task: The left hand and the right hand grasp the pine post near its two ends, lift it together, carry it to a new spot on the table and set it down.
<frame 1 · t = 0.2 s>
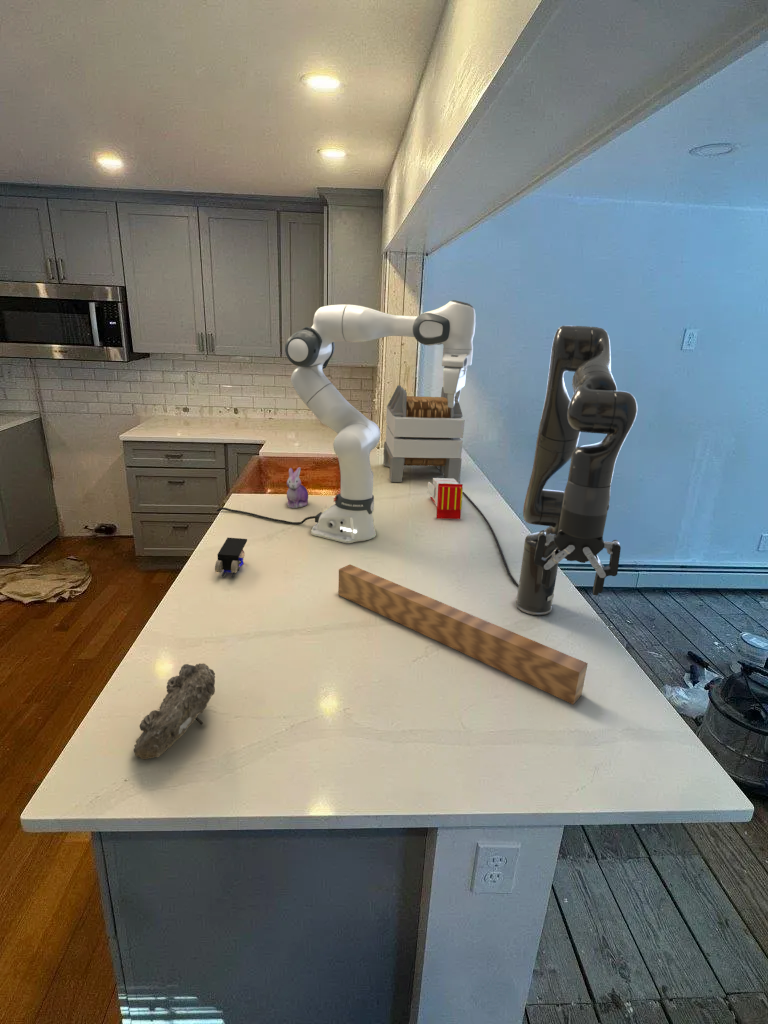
left hand: (453, 405, 174), 48 cm above the counter, tool pointing down, fingers open, 8 cm apart
right hand: (570, 589, 104), 28 cm above the counter, tool pointing down, fingers open, 8 cm apart
transformer: (419, 473, 275), on the counter
figurine character: (232, 569, 168), on the counter
post: (443, 638, 138), on the counter
figurine: (297, 505, 224), on the counter
toy: (443, 507, 229), on the counter
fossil: (183, 722, 106), on the counter
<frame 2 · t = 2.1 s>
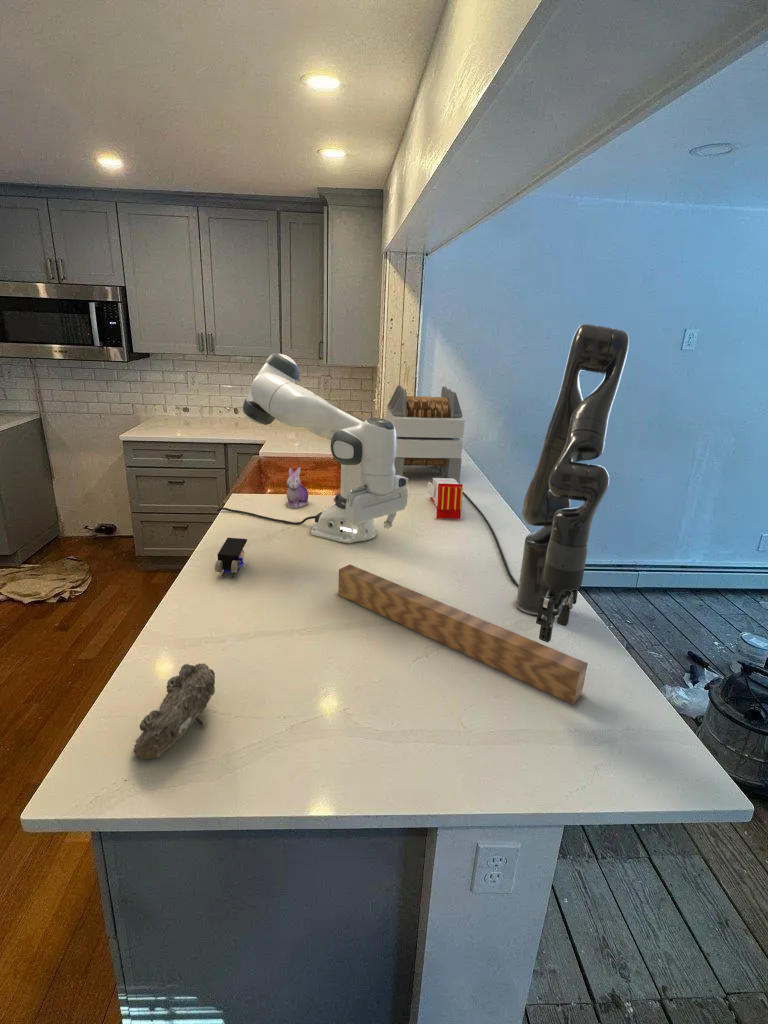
left hand: (375, 531, 151), 18 cm above the counter, tool pointing down, fingers open, 8 cm apart
right hand: (553, 632, 118), 13 cm above the counter, tool pointing down, fingers open, 8 cm apart
nothing on the counter moved.
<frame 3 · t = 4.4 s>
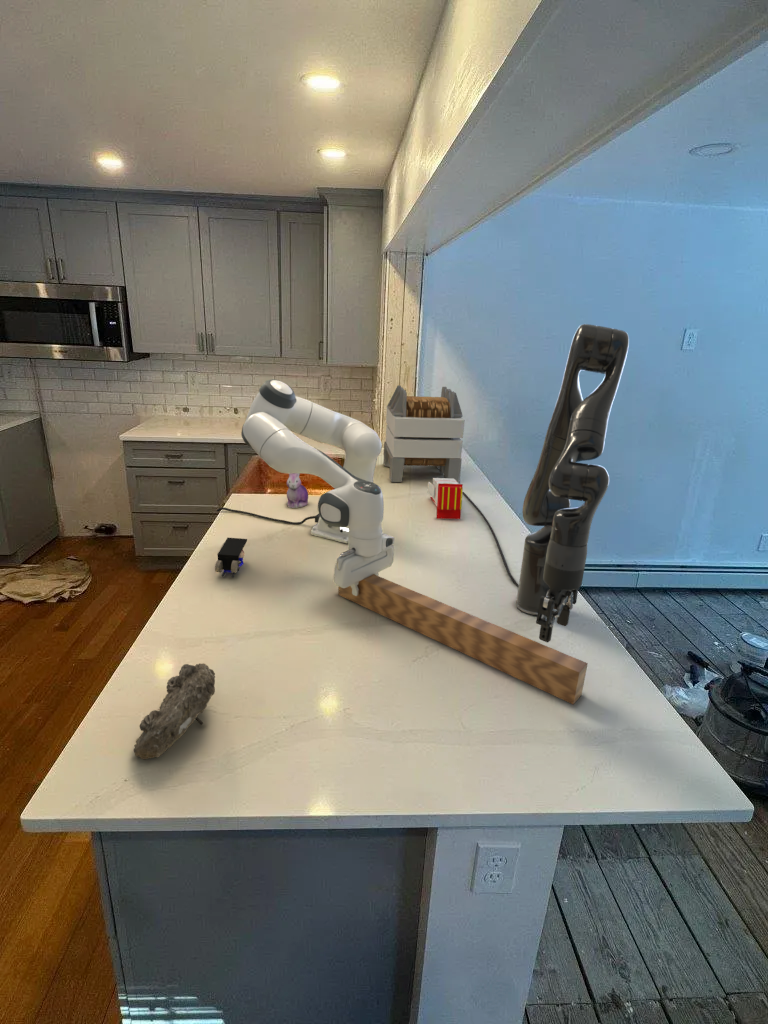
left hand: (363, 590, 152), 3 cm above the counter, tool pointing down, fingers closed on post, 4 cm apart
right hand: (553, 632, 118), 13 cm above the counter, tool pointing down, fingers open, 8 cm apart
post: (443, 638, 138), on the counter, touching left hand
everything else where it was.
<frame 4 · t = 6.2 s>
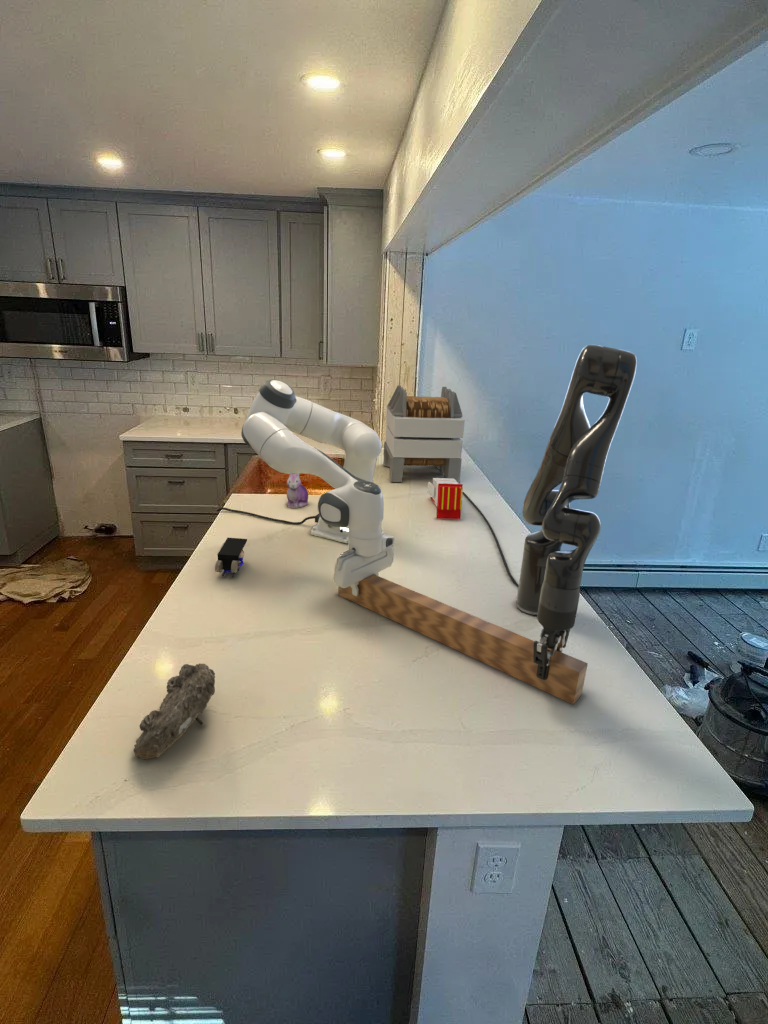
left hand: (363, 590, 152), 3 cm above the counter, tool pointing down, fingers closed on post, 4 cm apart
right hand: (546, 672, 121), 3 cm above the counter, tool pointing down, fingers closed on post, 4 cm apart
post: (443, 638, 138), on the counter, touching left hand, right hand
everything else where it was.
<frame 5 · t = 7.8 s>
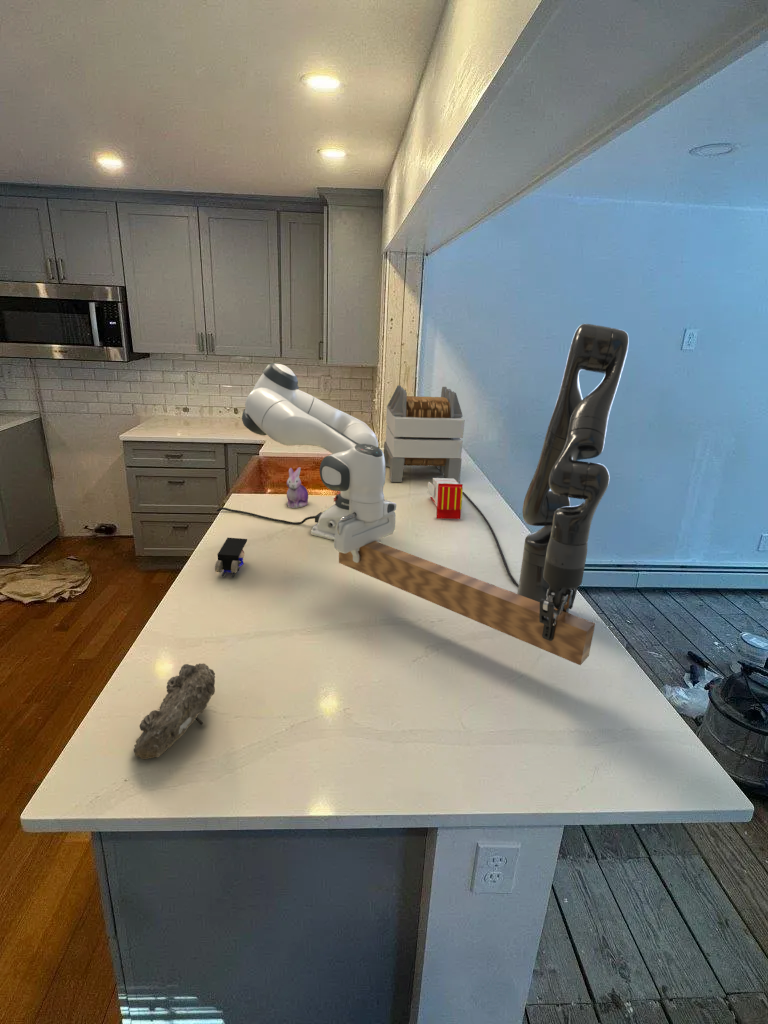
left hand: (364, 558, 149), 13 cm above the counter, tool pointing down, fingers closed on post, 4 cm apart
right hand: (553, 633, 118), 13 cm above the counter, tool pointing down, fingers closed on post, 4 cm apart
post: (446, 603, 134), point 10 cm above the counter, touching left hand, right hand
everything else where it was.
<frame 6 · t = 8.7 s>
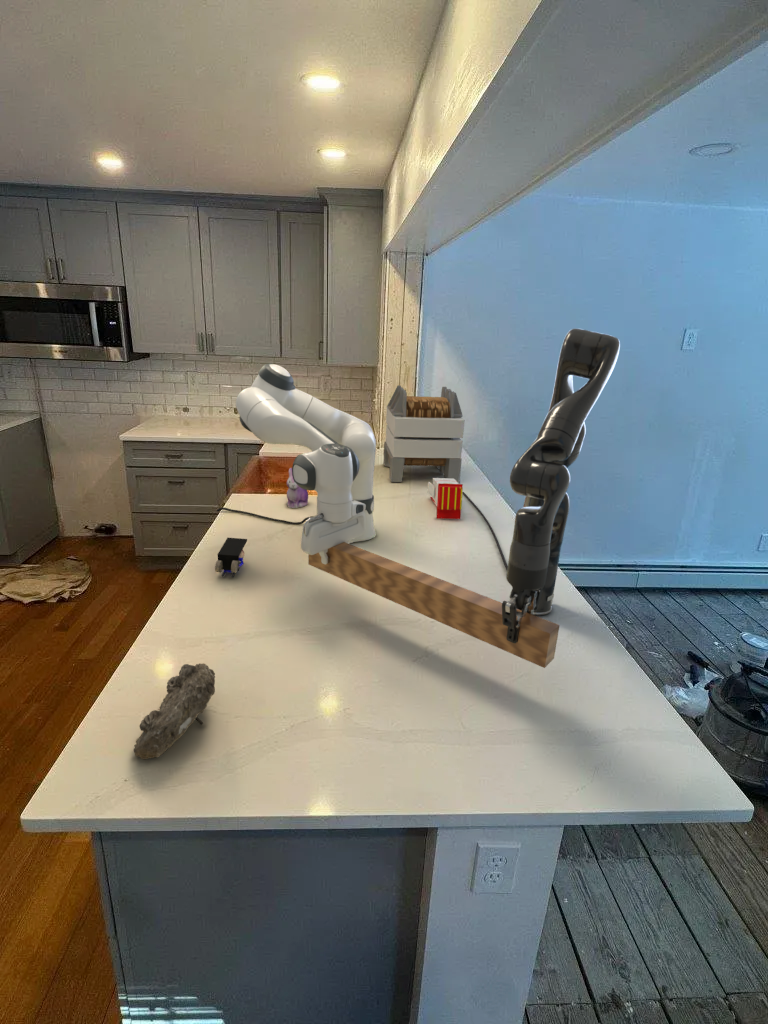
left hand: (333, 559, 147), 13 cm above the counter, tool pointing down, fingers closed on post, 4 cm apart
right hand: (517, 635, 116), 13 cm above the counter, tool pointing down, fingers closed on post, 4 cm apart
post: (414, 605, 133), point 10 cm above the counter, touching left hand, right hand
everything else where it was.
when the left hand's fingers open (4 cm above the counter, at t = 11.2 s): post drops 1 cm, on the counter.
when the right hand's fingers open (4 cm above the counter, at t = 11.2 s): post drops 1 cm, on the counter.
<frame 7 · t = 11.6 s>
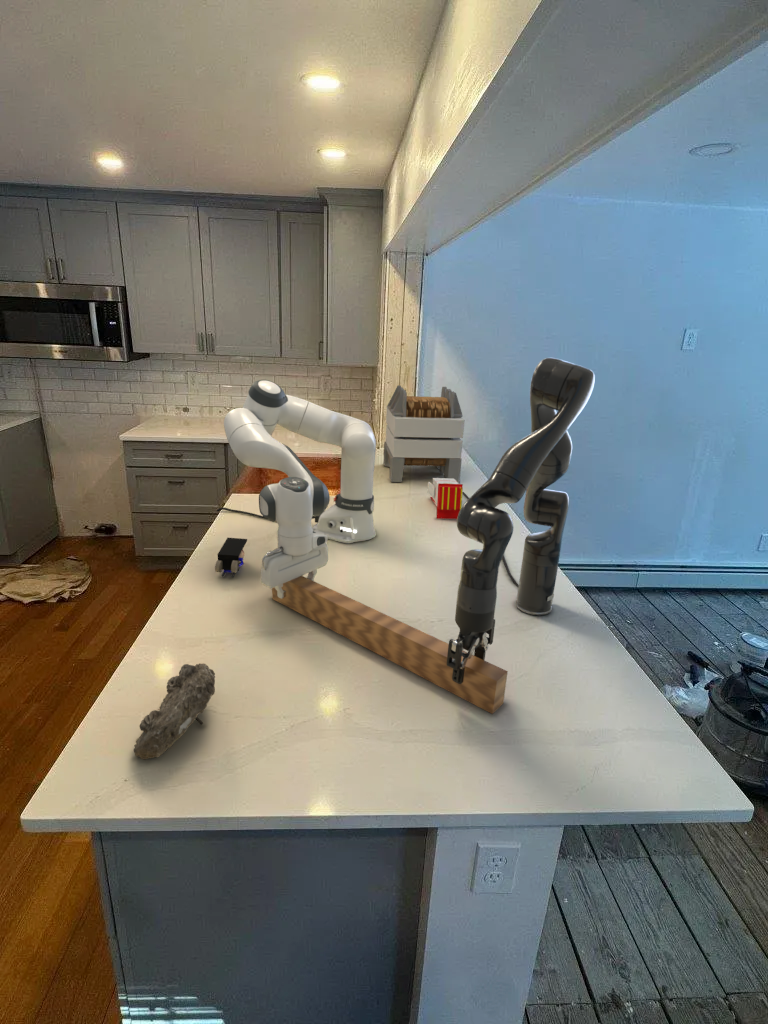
left hand: (295, 590, 148), 4 cm above the counter, tool pointing down, fingers open, 8 cm apart
right hand: (468, 672, 116), 5 cm above the counter, tool pointing down, fingers open, 7 cm apart
post: (371, 644, 134), on the counter
everything else where it was.
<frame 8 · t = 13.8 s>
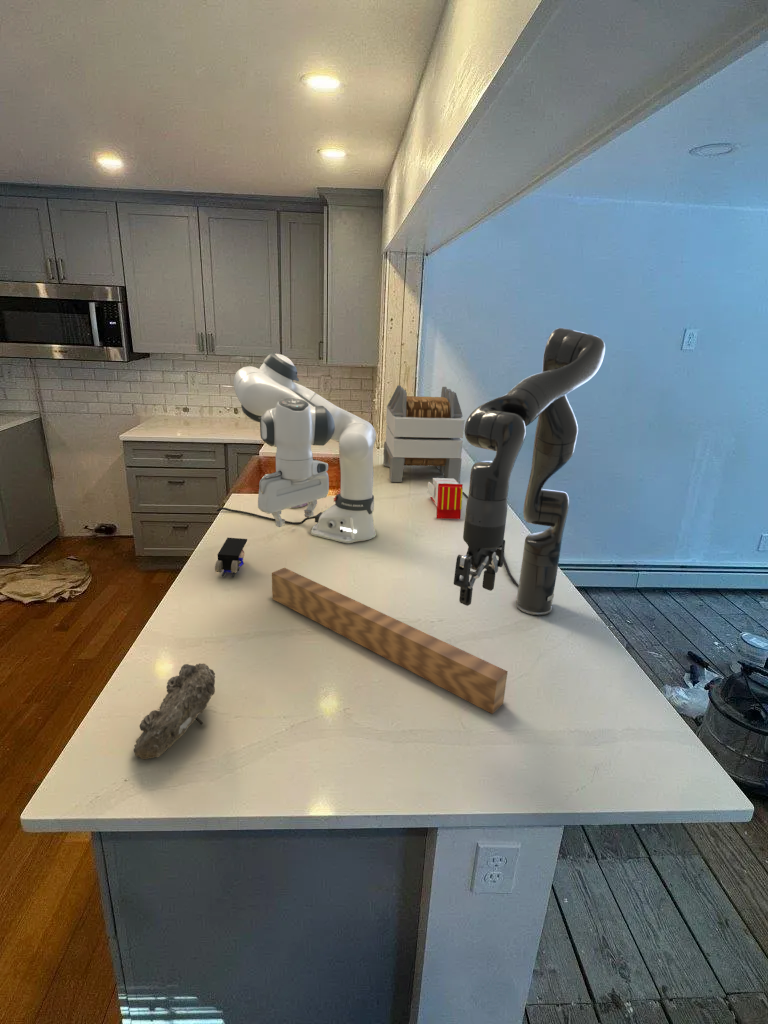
left hand: (294, 521, 141), 24 cm above the counter, tool pointing down, fingers open, 8 cm apart
right hand: (476, 596, 110), 23 cm above the counter, tool pointing down, fingers open, 8 cm apart
nothing on the counter moved.
at the end: post inside the target area (0.2 cm from its centre), on the counter; post tilted 0°; post never tilted more than 1° during the clip; both hands held the post at the same time; the left hand is holding nothing; the right hand is holding nothing; post at rest at the end (0.0 cm/s) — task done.
